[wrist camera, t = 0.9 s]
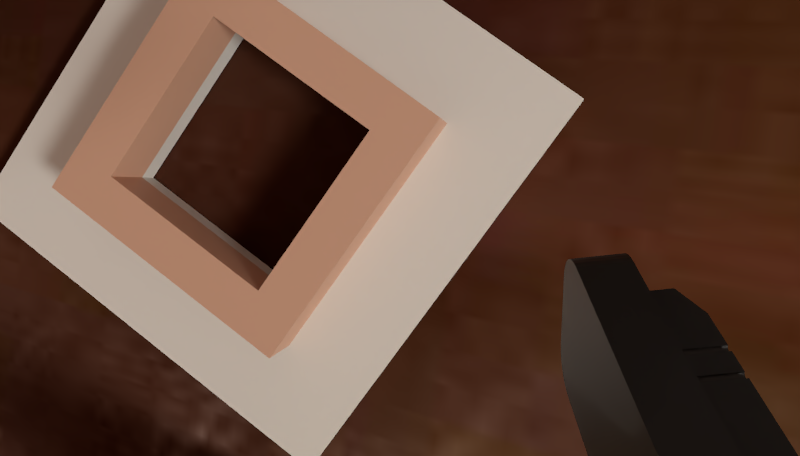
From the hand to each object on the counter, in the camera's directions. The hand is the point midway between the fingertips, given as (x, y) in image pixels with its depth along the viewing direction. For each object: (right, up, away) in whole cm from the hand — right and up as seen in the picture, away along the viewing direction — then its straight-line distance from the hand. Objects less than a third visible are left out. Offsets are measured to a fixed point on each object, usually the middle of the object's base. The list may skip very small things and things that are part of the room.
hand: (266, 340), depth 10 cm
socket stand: (-4, +5, +23) cm, 24 cm away
